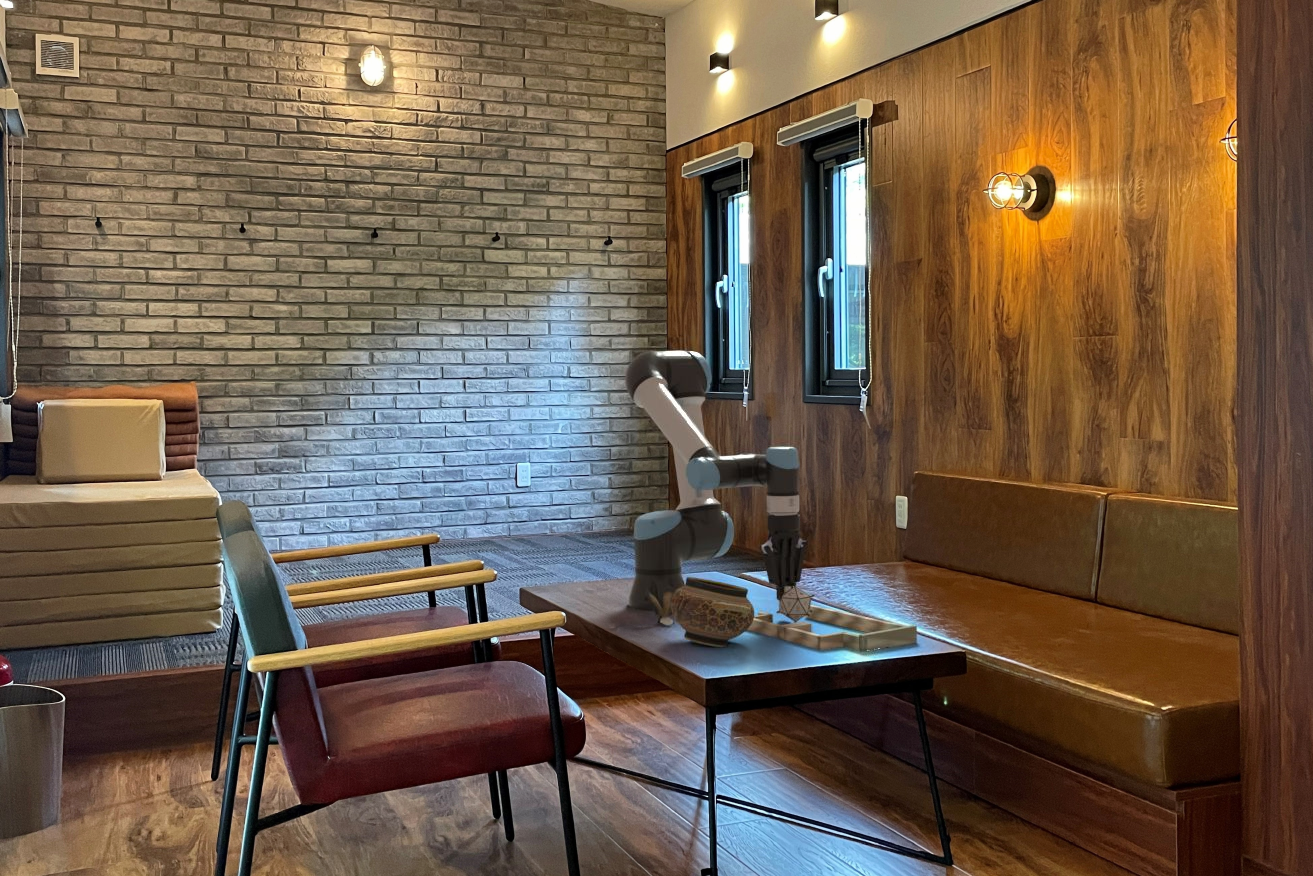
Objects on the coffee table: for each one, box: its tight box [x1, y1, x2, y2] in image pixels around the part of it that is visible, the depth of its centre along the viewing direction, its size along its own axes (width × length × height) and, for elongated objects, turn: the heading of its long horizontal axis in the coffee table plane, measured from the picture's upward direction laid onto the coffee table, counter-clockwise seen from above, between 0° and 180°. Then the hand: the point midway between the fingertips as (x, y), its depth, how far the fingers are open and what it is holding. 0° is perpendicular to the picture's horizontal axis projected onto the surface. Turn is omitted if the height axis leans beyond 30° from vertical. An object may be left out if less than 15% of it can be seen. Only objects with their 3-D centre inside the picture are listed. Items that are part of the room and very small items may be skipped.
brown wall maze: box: [746, 604, 918, 652], centre depth 268 cm, size 35×21×4 cm, turn 33°
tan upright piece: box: [646, 586, 676, 626], centre depth 281 cm, size 8×7×9 cm
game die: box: [775, 582, 815, 623], centre depth 279 cm, size 9×8×10 cm
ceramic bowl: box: [671, 576, 755, 648], centre depth 259 cm, size 24×18×15 cm
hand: (785, 613), depth 285 cm, fingers closed
